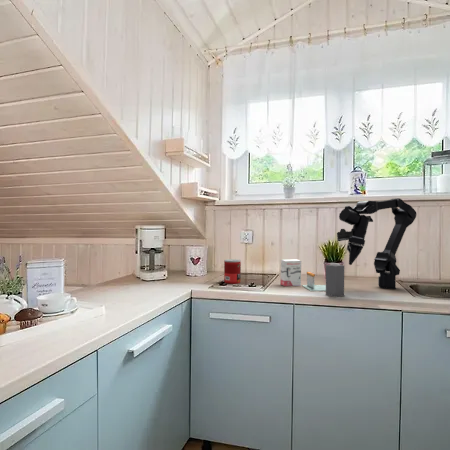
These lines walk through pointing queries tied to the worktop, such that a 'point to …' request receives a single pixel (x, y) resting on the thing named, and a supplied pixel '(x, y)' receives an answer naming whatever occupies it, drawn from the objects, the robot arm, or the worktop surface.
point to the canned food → (232, 271)
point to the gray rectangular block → (335, 280)
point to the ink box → (290, 272)
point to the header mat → (316, 288)
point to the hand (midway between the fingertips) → (350, 263)
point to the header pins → (310, 280)
